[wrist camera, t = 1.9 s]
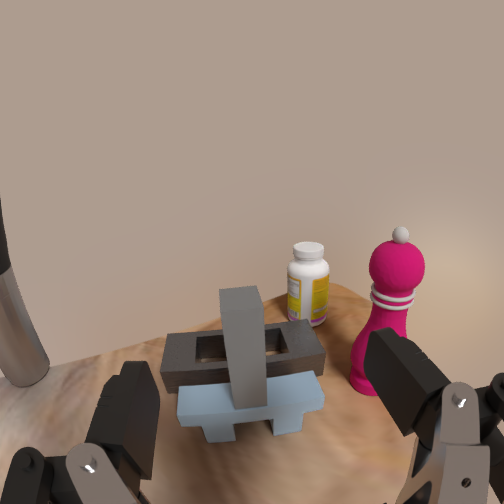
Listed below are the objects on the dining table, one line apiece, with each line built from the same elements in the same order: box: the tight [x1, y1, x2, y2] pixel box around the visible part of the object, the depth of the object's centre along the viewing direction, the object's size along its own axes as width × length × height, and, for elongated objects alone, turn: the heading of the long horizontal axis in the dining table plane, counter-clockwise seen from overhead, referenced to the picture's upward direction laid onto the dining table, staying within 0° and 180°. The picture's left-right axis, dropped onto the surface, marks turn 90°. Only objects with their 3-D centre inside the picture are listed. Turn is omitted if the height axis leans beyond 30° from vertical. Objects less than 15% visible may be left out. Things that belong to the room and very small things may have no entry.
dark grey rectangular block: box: [160, 319, 326, 393], centre depth 35 cm, size 20×8×4 cm, turn 97°
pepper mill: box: [350, 227, 425, 396], centre depth 27 cm, size 7×7×20 cm
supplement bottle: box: [287, 242, 329, 327], centre depth 44 cm, size 7×7×13 cm
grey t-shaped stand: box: [177, 286, 325, 443], centre depth 23 cm, size 14×4×16 cm, turn 97°
